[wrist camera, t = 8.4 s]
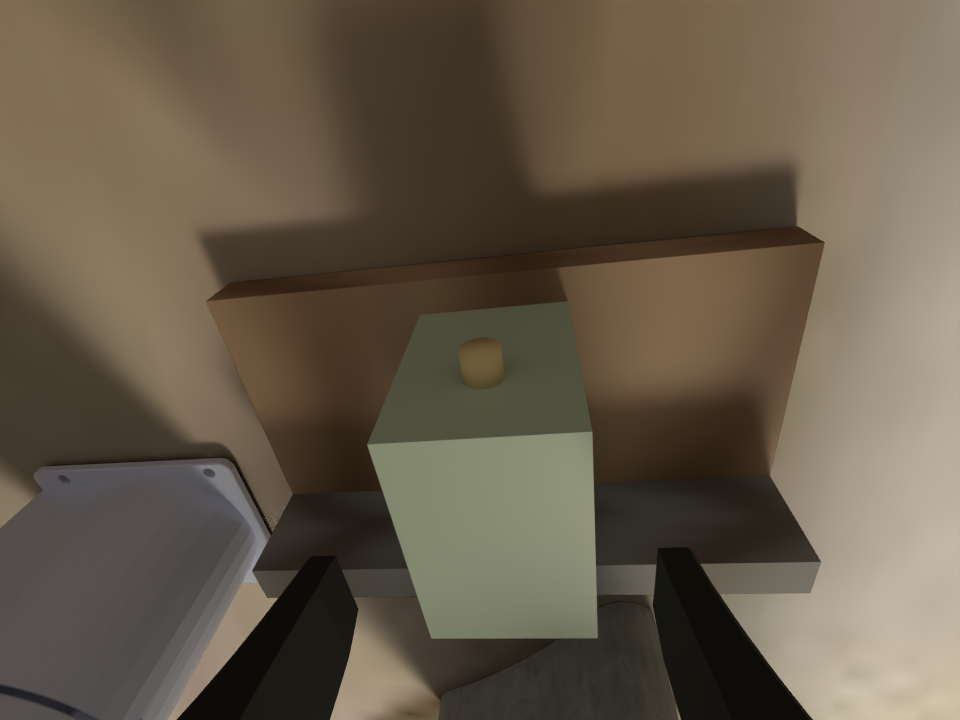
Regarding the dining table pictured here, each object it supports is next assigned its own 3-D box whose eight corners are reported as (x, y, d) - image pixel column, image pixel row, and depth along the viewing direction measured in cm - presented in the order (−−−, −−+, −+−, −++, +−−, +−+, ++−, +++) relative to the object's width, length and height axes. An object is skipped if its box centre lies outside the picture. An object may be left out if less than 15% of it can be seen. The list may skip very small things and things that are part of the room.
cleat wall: (317, 492, 22) (267, 597, 17) (230, 283, 17) (129, 358, 12) (747, 476, 19) (810, 593, 15) (797, 226, 14) (914, 295, 10)
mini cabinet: (456, 480, 19) (431, 638, 14) (414, 291, 15) (356, 413, 10) (576, 474, 18) (597, 638, 13) (566, 275, 14) (591, 397, 9)
